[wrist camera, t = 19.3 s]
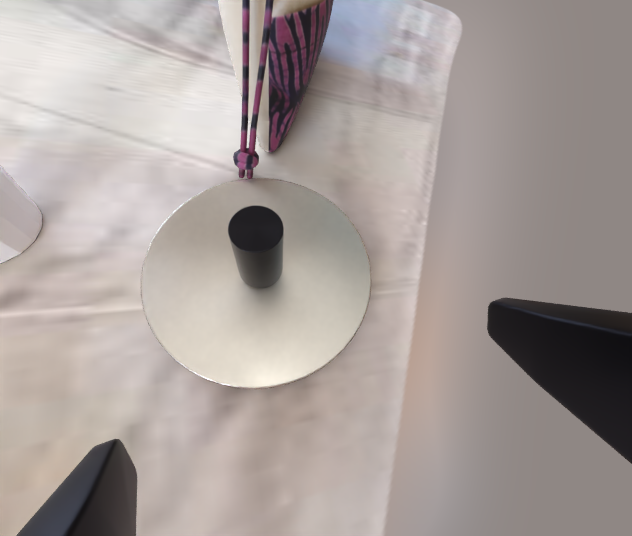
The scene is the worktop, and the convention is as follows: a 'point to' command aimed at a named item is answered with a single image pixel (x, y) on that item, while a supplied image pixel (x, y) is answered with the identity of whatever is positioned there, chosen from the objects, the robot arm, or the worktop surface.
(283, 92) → the pouch
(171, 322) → the tin lid
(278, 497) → the worktop surface
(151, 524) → the worktop surface
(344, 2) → the worktop surface
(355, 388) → the worktop surface
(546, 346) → the robot arm
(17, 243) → the white cup
